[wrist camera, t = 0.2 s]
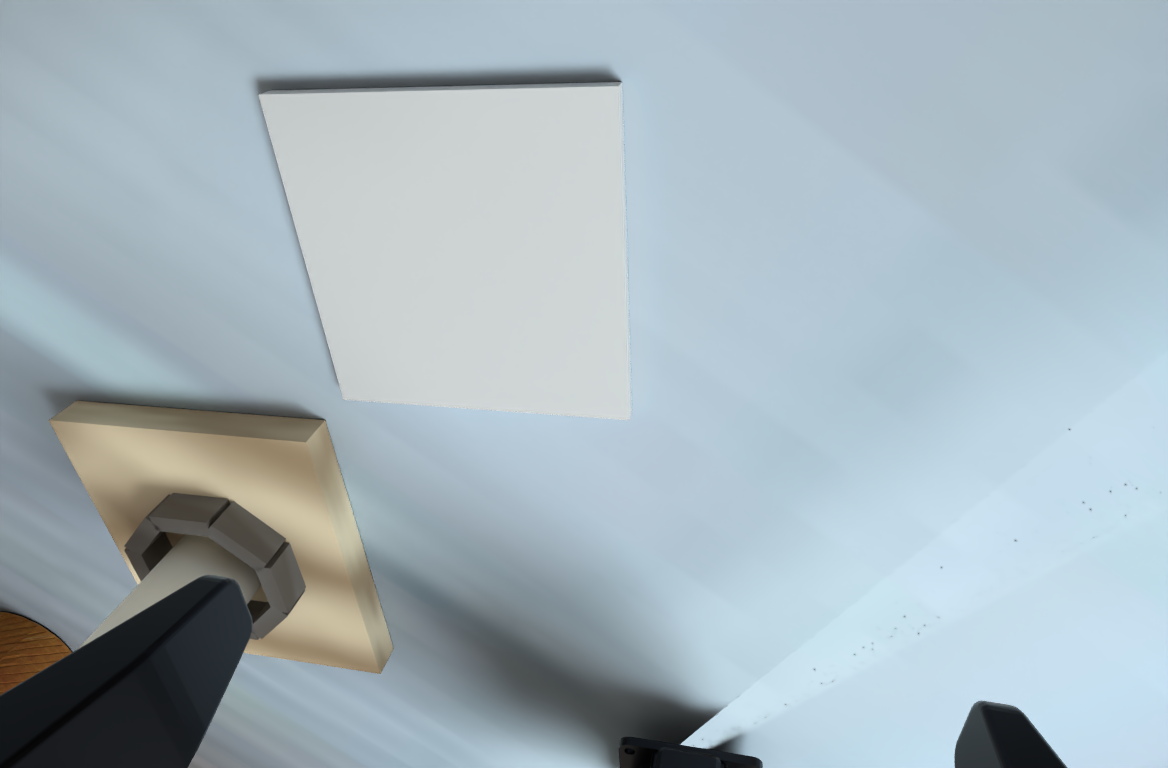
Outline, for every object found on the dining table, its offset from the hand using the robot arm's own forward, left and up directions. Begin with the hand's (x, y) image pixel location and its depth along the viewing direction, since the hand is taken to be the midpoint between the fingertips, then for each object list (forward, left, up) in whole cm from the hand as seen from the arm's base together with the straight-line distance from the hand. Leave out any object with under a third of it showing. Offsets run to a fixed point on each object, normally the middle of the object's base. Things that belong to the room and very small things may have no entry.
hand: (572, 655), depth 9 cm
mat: (-2, +7, -16) cm, 18 cm away
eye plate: (-16, +20, -16) cm, 30 cm away
